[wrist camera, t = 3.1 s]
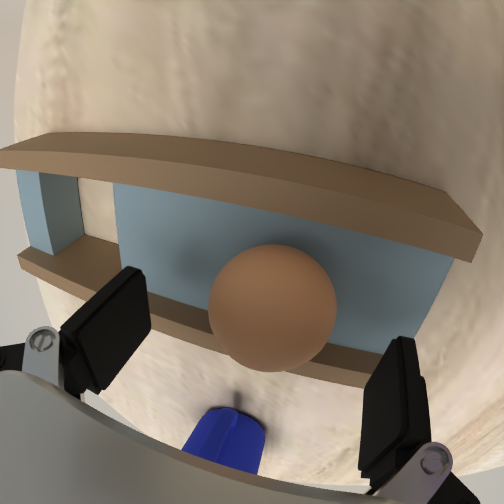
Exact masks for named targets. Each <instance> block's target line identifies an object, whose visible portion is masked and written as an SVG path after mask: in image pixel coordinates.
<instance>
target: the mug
mask: <svg viewBox="0 0 504 504" xmlns="http://www.w3.org/2000/svg"><path fill="white" fill-rule="evenodd" d="M264 442H265V434H264V431H263V429H262V427H261V426H260V425H259V424H258V423H257V422H256V421H255V420H253V419H252V418H250V417H248V416H246V415H244V414H241V413H238V412H237V411H236V410H234V409H231V408H223V409H216V410H212V411H209V412H207V413H206V414H205V415H204V416H203V417H202V418H201V419H200V421H199V422H198V424H197V425H196V427H195V429H194V430H193V432H192V434H191V435H190V437H189V438H188V440H187V442H186V443H185V445H184V446H183V448H182V451H184V452H187V453H189V454H192V455H195V456H197V457H200V458H203V459H206V460H209V461H212V462H215V463H218V464H221V465H224V466H227V467H230V468H233V469H237V470H240V471H244V472H247V473H251V474H255V475H257V473H258V468H259V464H260V460H261V456H262V452H263V447H264Z"/></svg>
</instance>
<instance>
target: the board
mask: <svg viewBox="0 0 504 504" xmlns="http://www.w3.org/2000/svg"><path fill="white" fill-rule="evenodd" d="M0 168H7V169H16V175H17V182H18V188H19V194H20V200H21V205H22V211H23V216H24V220H25V225H26V229H27V234H28V238H29V242H30V247H28V248H27V249H26V250H24V251H22V252H21V253H20V254H18V255H17V256H18V260H19V263H20V266H21V268H22V269H23V270H25V271H27V272H29V273H30V274H32V275H34V276H36V277H38V278H40V279H42V280H44V281H46V282H48V283H50V284H51V285H53V286H55V287H57V288H59V289H62V290H64V291H66V292H68V293H70V294H72V295H74V296H76V297H78V298H80V299H82V300H85V301H88V300H89V299H90V298H91V297H92V296H93V295H95V294H96V293H97V292H98V291H99V290H100V289H101V288H102V287H103V286H104V285H106V284H107V283H108V282H109V281H110V280H111V279H112V278H113V277H115V276H116V275H117V274H118V273H119V272H120V271H121V270H122V269H124V268H125V267H126V266H132V267H135V268H138V269H141V270H142V272H143V274H144V275H145V277H146V285H147V294H148V302H149V310H150V317H151V329H153V330H156V331H159V332H161V333H164V334H167V335H169V336H172V337H175V338H178V339H181V340H183V341H186V342H189V343H192V344H195V345H198V346H201V347H204V348H207V349H210V350H213V351H216V352H219V353H222V354H226V355H228V354H227V353H226V352H225V351H224V350H223V349H222V348H221V346H220V345H219V343H218V342H217V340H216V338H215V336H214V334H213V332H212V329H211V326H210V322H209V315H208V303H209V295H210V292H211V288H212V285H213V283H214V281H215V279H216V277H217V275H218V274H219V272H220V271H221V270H222V268H223V267H224V266H225V265H226V264H227V263H228V262H229V261H230V260H231V259H232V258H234V257H235V256H237V255H238V254H239V253H241V252H243V251H245V250H247V249H250V248H253V247H256V246H261V245H269V244H277V245H285V246H290V247H293V248H296V249H298V250H301V251H303V252H304V253H306V254H308V255H309V256H311V257H312V258H313V259H314V260H316V261H317V262H318V263H319V264H320V265H321V266H322V268H323V269H324V270H325V271H326V273H327V275H328V276H329V278H330V280H331V282H332V285H333V287H334V291H335V295H336V301H337V315H336V321H335V325H334V329H333V331H332V333H331V336H330V338H329V340H328V341H327V343H326V344H325V345H324V347H323V348H322V350H321V351H320V352H319V353H318V354H317V355H315V356H314V357H313V358H312V359H311V360H309V361H308V362H306V363H305V364H303V365H301V366H299V367H296V368H294V369H290V370H287V371H286V372H290V373H294V374H298V375H302V376H306V377H310V378H315V379H319V380H324V381H328V382H333V383H338V384H343V385H348V386H353V387H358V388H365V385H366V383H367V382H368V380H369V378H370V377H371V375H372V373H373V372H374V370H375V368H376V367H377V365H378V363H379V362H380V360H381V358H382V356H383V355H384V353H385V351H386V349H387V348H388V346H389V344H390V342H391V340H392V339H397V337H398V336H405V337H410V338H414V337H415V335H416V333H417V332H418V330H419V328H420V326H421V324H422V323H423V321H424V319H425V317H426V315H427V313H428V312H429V310H430V308H431V306H432V304H433V302H434V300H435V298H436V296H437V294H438V292H439V290H440V288H441V286H442V284H443V282H444V280H445V277H446V275H447V273H448V271H449V269H450V266H451V264H452V262H453V260H454V258H457V259H460V260H464V261H467V262H470V263H471V262H472V260H473V257H474V255H475V253H476V251H477V248H478V246H479V243H480V241H481V238H482V236H483V233H482V232H481V231H480V230H479V229H478V227H477V226H476V225H475V224H474V223H473V222H472V220H471V219H470V218H469V217H468V216H467V215H466V214H465V213H464V211H463V210H462V209H461V208H460V207H459V206H458V205H457V204H456V203H455V202H454V201H453V200H452V198H451V197H450V196H449V195H448V194H447V193H446V192H443V191H440V190H437V189H434V188H431V187H428V186H425V185H422V184H418V183H415V182H412V181H409V180H405V179H402V178H398V177H395V176H391V175H388V174H384V173H380V172H376V171H373V170H369V169H365V168H361V167H357V166H353V165H349V164H344V163H340V162H336V161H331V160H327V159H322V158H317V157H312V156H308V155H303V154H297V153H292V152H287V151H281V150H275V149H270V148H264V147H257V146H251V145H244V144H237V143H230V142H222V141H214V140H205V139H196V138H186V137H176V136H163V135H149V134H131V133H99V132H66V133H47V134H44V135H40V136H37V137H34V138H31V139H28V140H25V141H22V142H19V143H16V144H13V145H10V146H8V147H5V148H3V149H0ZM77 177H80V178H87V179H94V180H101V181H107V182H113V191H114V204H115V215H116V225H117V234H118V242H119V245H118V244H115V243H111V242H108V241H104V240H101V239H98V238H94V237H91V236H88V235H84V229H83V222H82V215H81V208H80V200H79V191H78V182H77Z"/></svg>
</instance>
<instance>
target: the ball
mask: <svg viewBox="0 0 504 504" xmlns="http://www.w3.org/2000/svg"><path fill="white" fill-rule="evenodd" d="M208 315H209V322H210V326H211V329H212V332H213V334H214V336H215V338H216V340H217V342H218V343H219V345H220V346H221V348H222V349H223V350H224V351H225V352H226V353H227V354H228V355H229V356H230V357H231V358H232V359H234V360H235V361H236V362H238V363H240V364H241V365H243V366H245V367H248V368H250V369H253V370H257V371H262V372H282V371H287V370H290V369H294V368H296V367H299V366H301V365H303V364H305V363H306V362H308V361H309V360H311V359H312V358H313V357H314V356H315V355H317V354H318V353H319V352H320V351H321V350H322V348H323V347H324V345H325V344H326V343H327V341H328V340H329V338H330V336H331V333H332V331H333V329H334V325H335V321H336V315H337V301H336V295H335V291H334V287H333V285H332V282H331V280H330V278H329V276H328V275H327V273H326V271H325V270H324V269H323V268H322V266H321V265H320V264H319V263H318V262H317V261H316V260H314V259H313V258H312V257H311V256H309V255H308V254H306V253H304V252H303V251H301V250H298V249H296V248H293V247H290V246H285V245H277V244H269V245H261V246H256V247H253V248H250V249H247V250H245V251H243V252H241V253H239V254H238V255H237V256H235V257H234V258H232V259H231V260H230V261H229V262H228V263H227V264H226V265H225V266H224V267H223V268H222V270H221V271H220V272H219V274H218V275H217V277H216V279H215V281H214V283H213V285H212V288H211V292H210V295H209V303H208Z"/></svg>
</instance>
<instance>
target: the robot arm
mask: <svg viewBox="0 0 504 504" xmlns="http://www.w3.org/2000/svg"><path fill="white" fill-rule="evenodd" d="M60 328H61V330H60V331H59V332H57V330H55V329H54V328H52V327H49V326H44V327H39V328H37V329H35V330H33V331H32V332H31V333H30V334H29V335H28V337H27V339H26V343H21V344H15V345H9V346H2V347H0V504H480V501H479V500H478V498H477V497H476V496H475V495H474V494H473V493H472V492H471V491H470V490H469V489H468V488H467V487H466V486H465V485H464V484H463V483H462V482H461V481H460V480H459V479H458V478H457V477H456V476H455V475H454V474H453V473H452V472H451V469H452V465H453V459H452V455H451V453H450V451H449V449H448V448H447V447H446V446H444V445H443V444H441V443H438V442H432V441H431V427H430V416H429V406H428V398H427V390H426V383H425V379H424V377H423V376H421V375H420V368H419V362H418V355H417V349H416V344H415V340H414V338H410V337H405V336H398V337H397V339H392V340H391V342H390V344H389V346H388V348H387V349H386V351H385V353H384V355H383V356H382V358H381V360H380V362H379V363H378V365H377V367H376V368H375V370H374V372H373V373H372V375H371V377H370V378H369V380H368V382H367V383H366V385H365V388H364V395H363V414H362V429H361V441H360V451H359V461H358V470H360V471H362V472H361V478H368V479H370V486H371V487H370V488H369V489H368V490H367V491H365V492H364V493H363V494H357V493H351V492H342V491H334V490H328V489H321V488H315V487H309V486H304V485H299V484H293V483H289V482H284V481H279V480H275V479H271V478H266V477H262V476H258V475H255V474H251V473H247V472H244V471H240V470H237V469H233V468H230V467H227V466H224V465H221V464H218V463H215V462H212V461H209V460H206V459H203V458H200V457H197V456H195V455H192V454H189V453H187V452H184V451H182V450H179V449H177V448H174V447H172V446H169V445H167V444H165V443H162V442H160V441H158V440H155V439H153V438H151V437H149V436H147V435H144V434H142V433H140V432H138V431H136V430H134V429H132V428H130V427H128V426H126V425H124V424H122V423H120V422H118V421H116V420H114V419H112V418H110V417H109V416H107V415H105V414H103V413H101V412H100V411H98V410H96V409H94V408H93V407H91V406H89V405H87V404H86V403H85V398H84V392H85V391H86V389H88V390H90V391H92V392H93V393H95V394H97V395H98V394H99V393H100V392H101V390H105V389H106V388H107V387H108V386H109V385H110V383H111V382H112V381H113V379H114V378H115V377H116V375H117V374H118V373H119V371H120V370H121V369H122V368H123V366H124V365H125V364H126V362H127V361H128V360H129V358H130V357H131V356H132V354H133V353H134V352H135V351H136V349H137V348H138V347H139V345H140V344H141V343H142V342H143V340H144V339H145V338H146V336H147V335H148V334H149V332H150V330H151V317H150V310H149V302H148V294H147V285H146V277H145V275H144V274H143V272H142V270H141V269H138V268H135V267H132V266H126V267H125V268H124V269H122V270H121V271H120V272H119V273H118V274H117V275H116V276H115V277H113V278H112V279H111V280H110V281H109V282H108V283H107V284H106V285H104V286H103V287H102V288H101V289H100V290H99V291H98V292H97V293H96V294H95V295H93V296H92V297H91V298H90V299H89V300H88V301H87V302H86V303H85V304H84V305H83V306H82V307H81V308H80V309H78V310H77V311H76V312H75V313H74V314H73V315H72V316H71V317H70V318H69V319H68V320H67V321H66V322H65V323H64V324H63V325H62V326H61V327H60Z"/></svg>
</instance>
